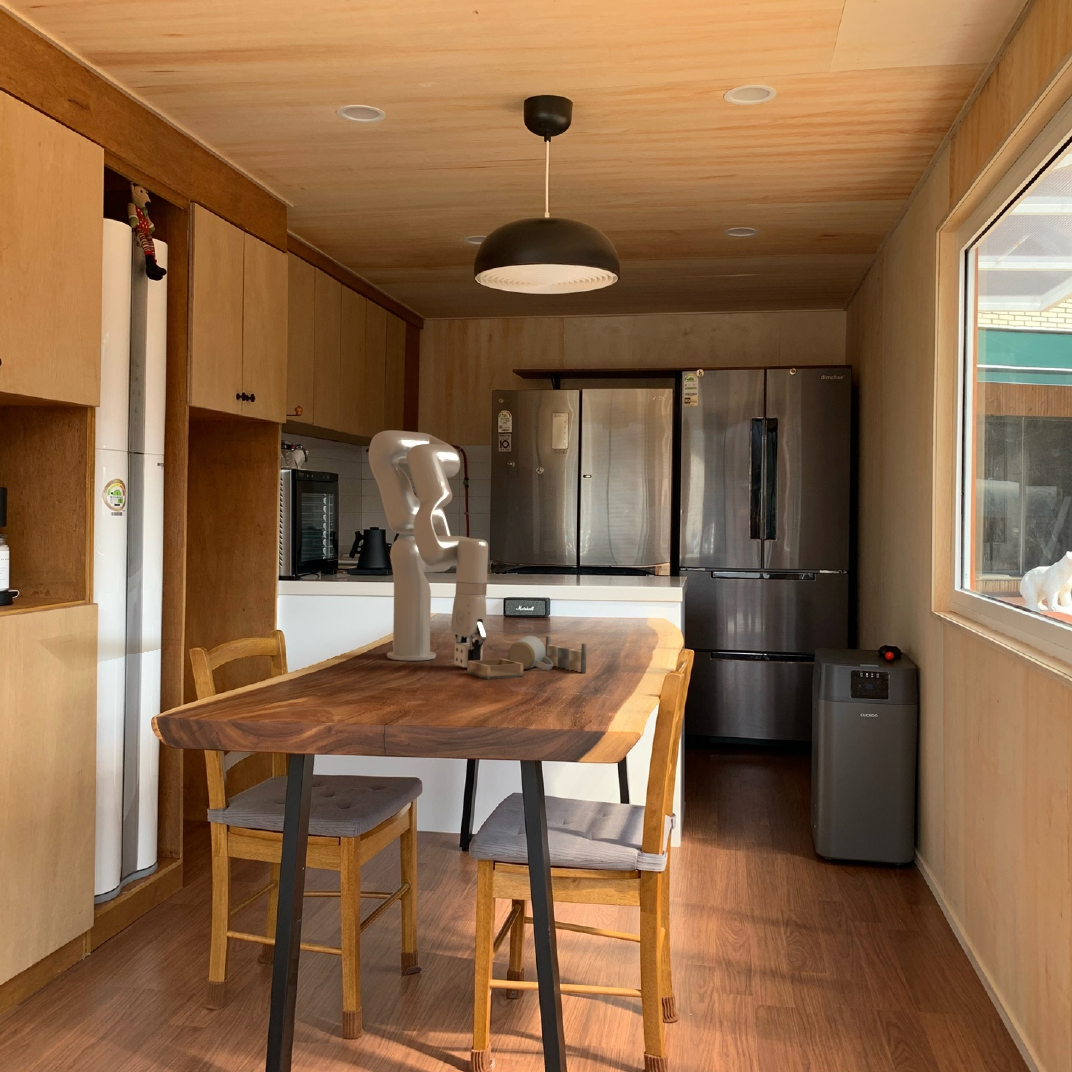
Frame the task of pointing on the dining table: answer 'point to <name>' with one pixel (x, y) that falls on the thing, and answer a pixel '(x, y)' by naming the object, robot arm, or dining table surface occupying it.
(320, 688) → the dining table surface
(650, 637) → the dining table surface
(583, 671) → the scoring rail
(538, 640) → the ceramic mug
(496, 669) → the felt tray
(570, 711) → the dining table surface
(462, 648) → the die
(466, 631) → the robot arm
